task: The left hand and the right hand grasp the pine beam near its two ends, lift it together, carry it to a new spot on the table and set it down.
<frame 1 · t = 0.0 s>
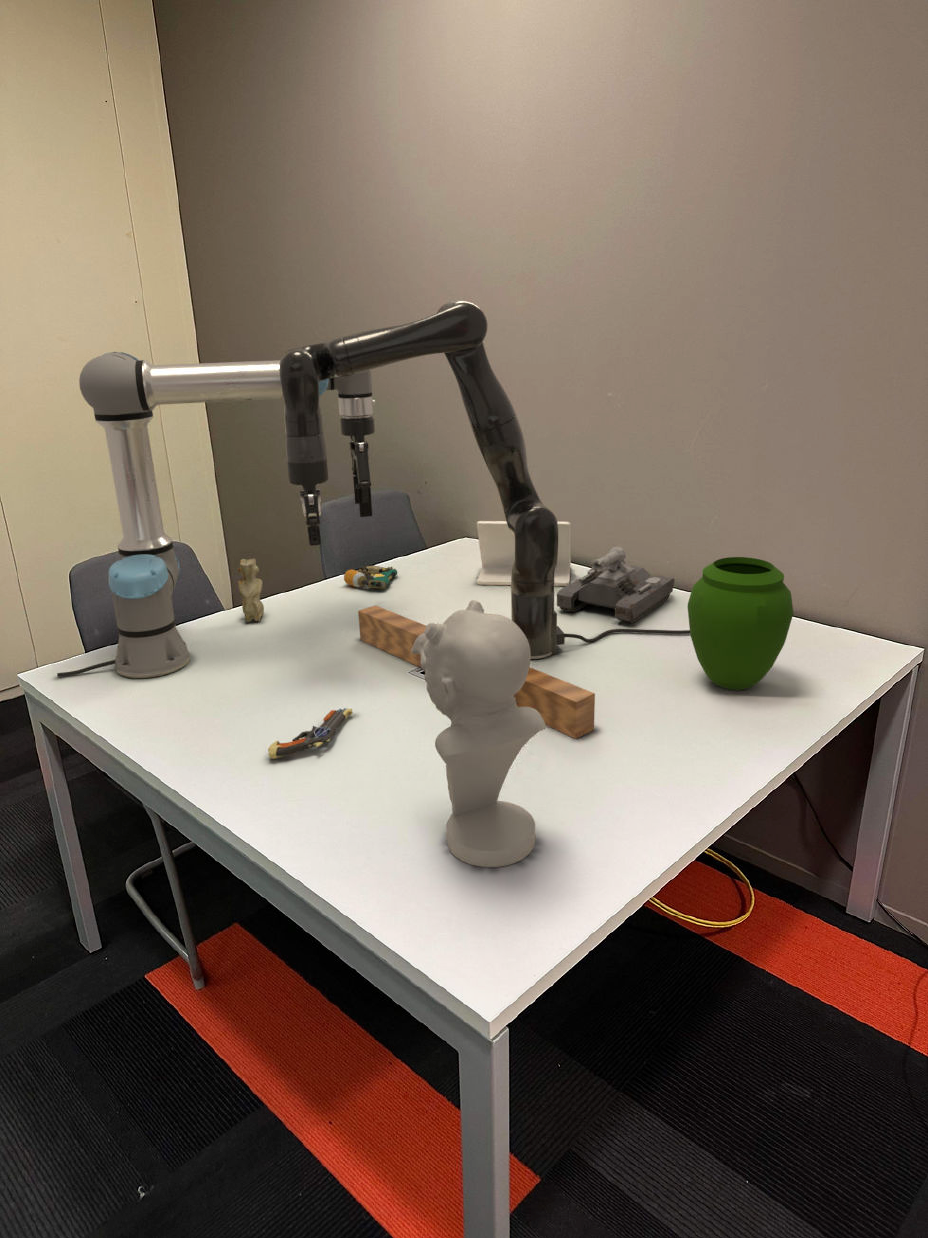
left hand: (363, 509, 198), 28 cm above the table, tool pointing down, fingers open, 13 cm apart
right hand: (314, 539, 170), 29 cm above the table, tool pointing down, fingers open, 8 cm apart
bust sculpture: (470, 832, 125), on the table
sculpture: (254, 619, 212), on the table
tablet stand: (525, 575, 239), on the table
beam: (462, 679, 176), on the table
toy: (615, 605, 214), on the table
spray gun: (374, 582, 237), on the table
vase: (732, 683, 170), on the table
toy gun: (312, 737, 154), on the table
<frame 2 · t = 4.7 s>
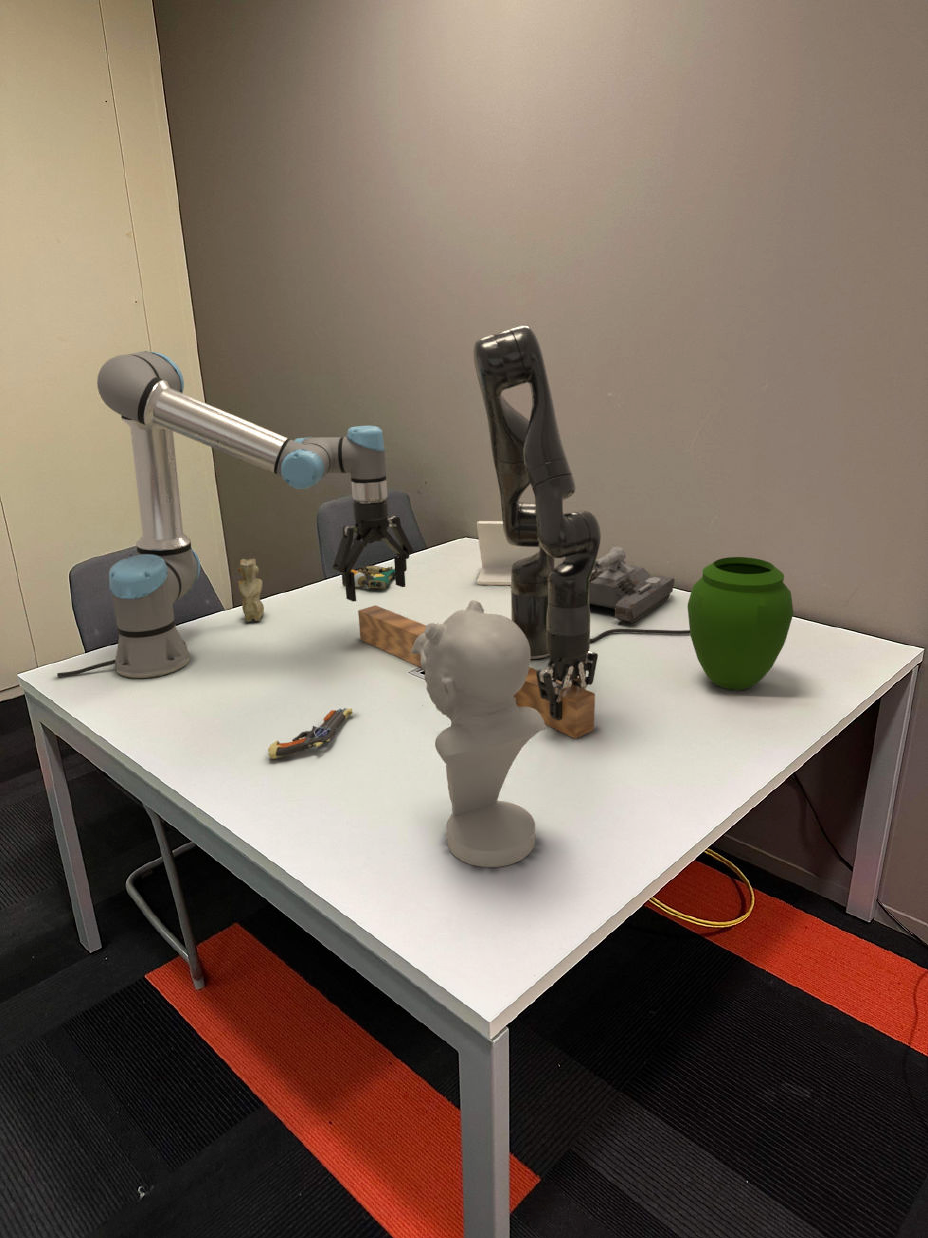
left hand: (376, 592, 192), 12 cm above the table, tool pointing down, fingers open, 13 cm apart
right hand: (566, 713, 154), 3 cm above the table, tool pointing down, fingers closed on beam, 5 cm apart
beam: (462, 679, 175), on the table, touching right hand
everything else where it was.
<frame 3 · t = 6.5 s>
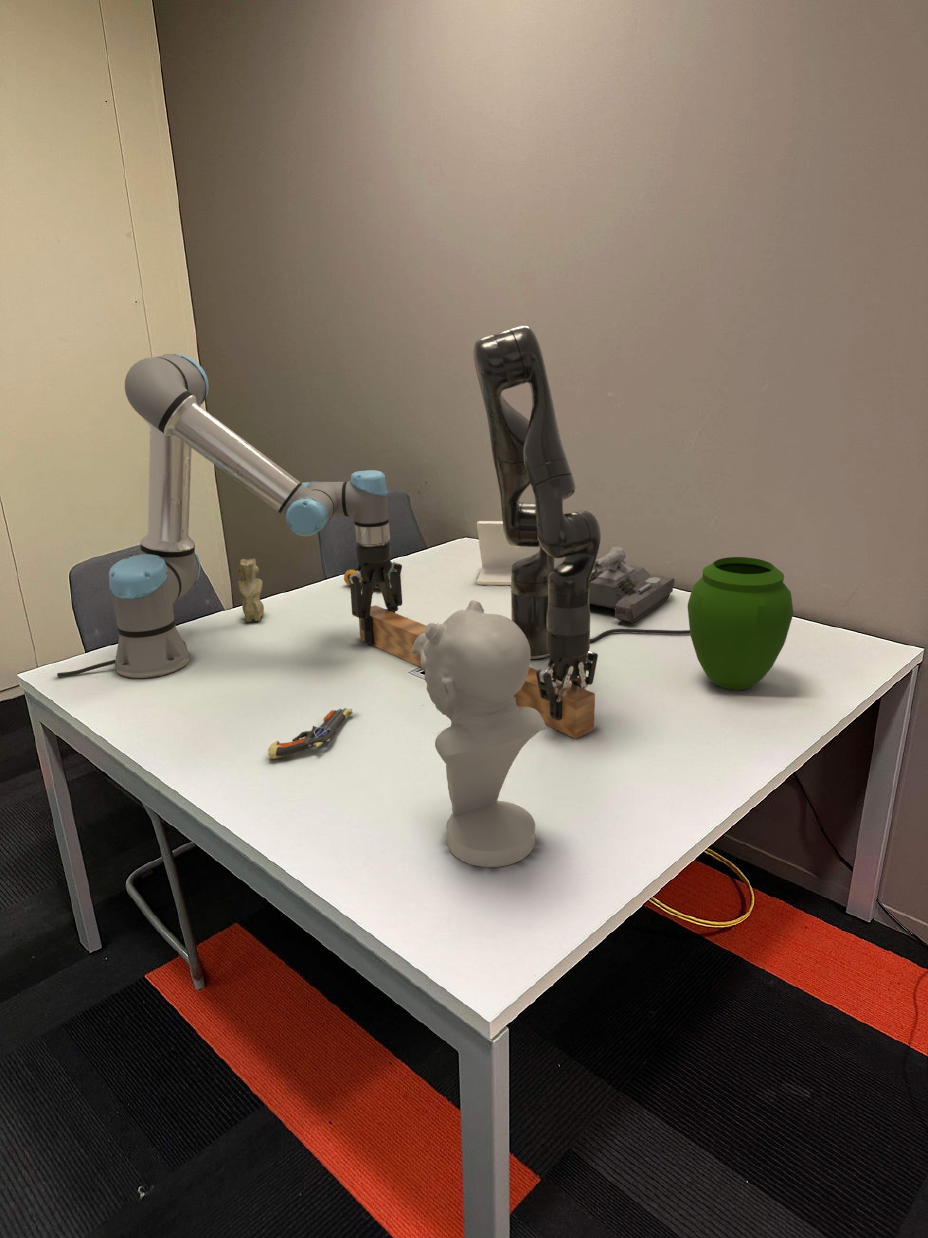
left hand: (379, 640, 196), 0 cm above the table, tool pointing down, fingers closed on beam, 5 cm apart
right hand: (566, 713, 154), 3 cm above the table, tool pointing down, fingers closed on beam, 5 cm apart
beam: (462, 679, 176), on the table, touching right hand, left hand
everything else where it was.
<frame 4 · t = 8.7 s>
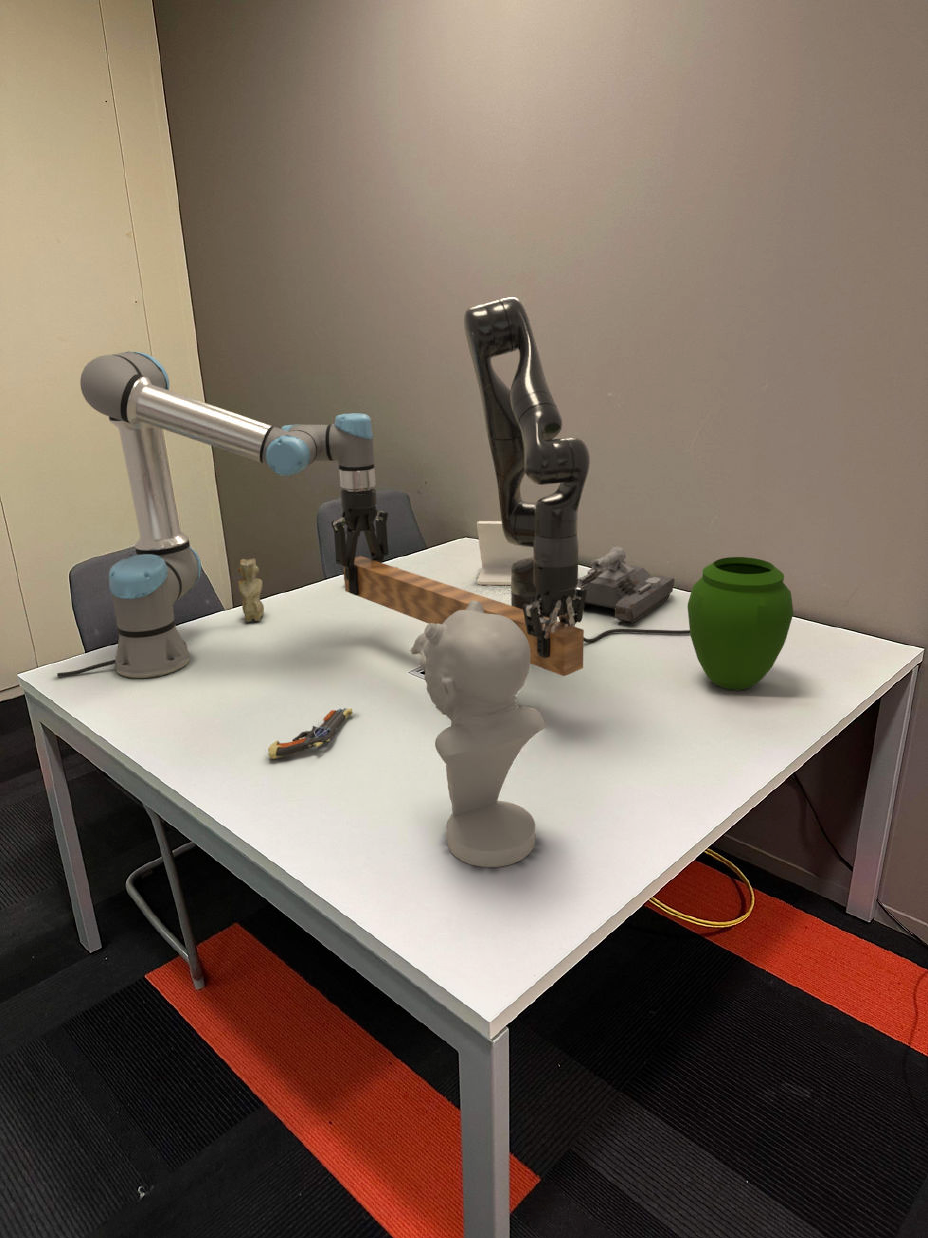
left hand: (364, 590, 191), 13 cm above the table, tool pointing down, fingers closed on beam, 5 cm apart
right hand: (554, 651, 149), 15 cm above the table, tool pointing down, fingers closed on beam, 5 cm apart
beam: (448, 624, 171), point 12 cm above the table, touching right hand, left hand
everything else where it was.
when the left hand's fingers open (2 cm above the table, at t = 12.8 s): beam drops 1 cm, on the table.
when the right hand's fingers open (4 cm above the table, at t = 12.9 s): beam stays where it is, on the table.
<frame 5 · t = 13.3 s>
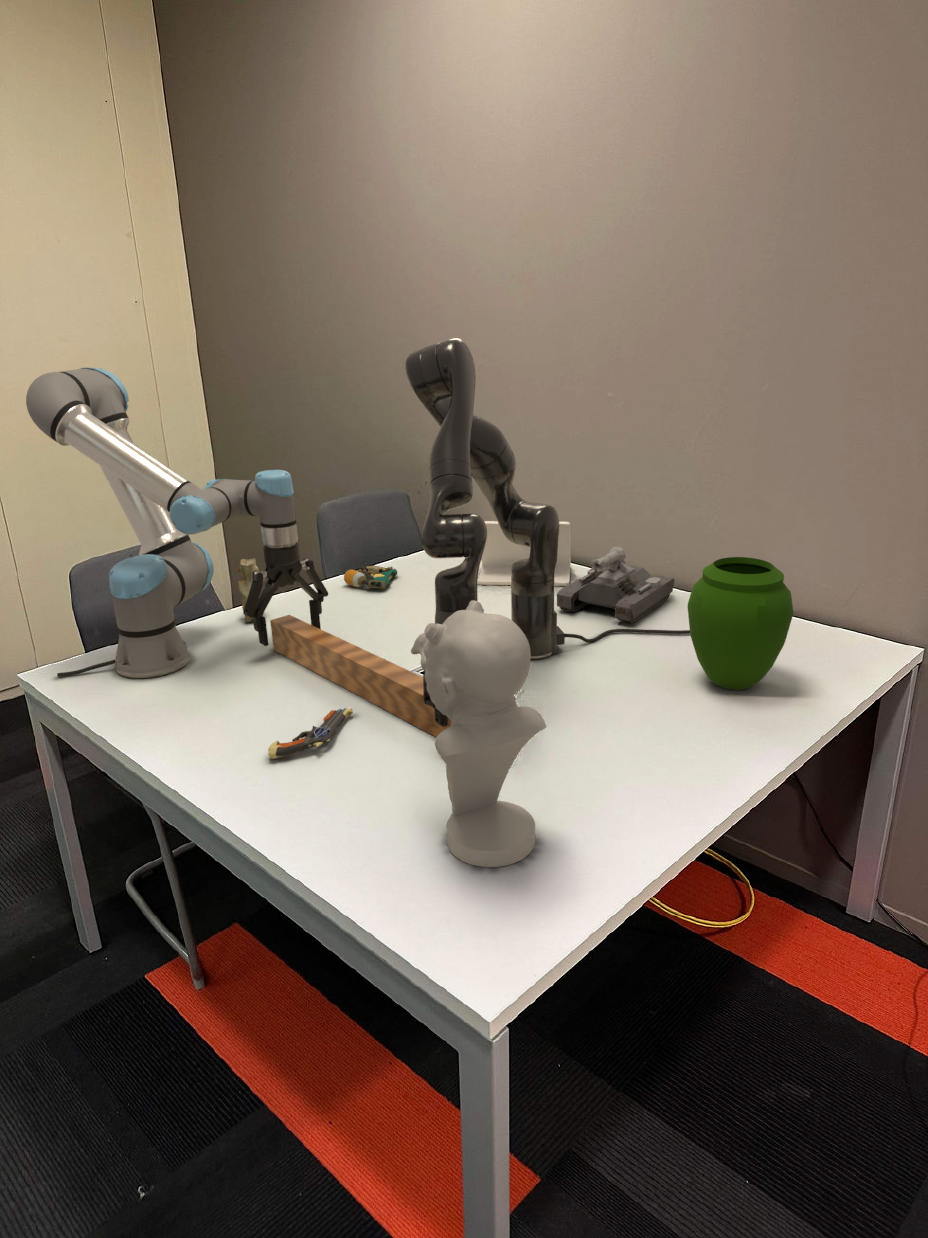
left hand: (290, 636, 190), 4 cm above the table, tool pointing down, fingers open, 13 cm apart
right hand: (460, 717, 149), 5 cm above the table, tool pointing down, fingers open, 8 cm apart
beam: (367, 691, 171), on the table
everything else where it was.
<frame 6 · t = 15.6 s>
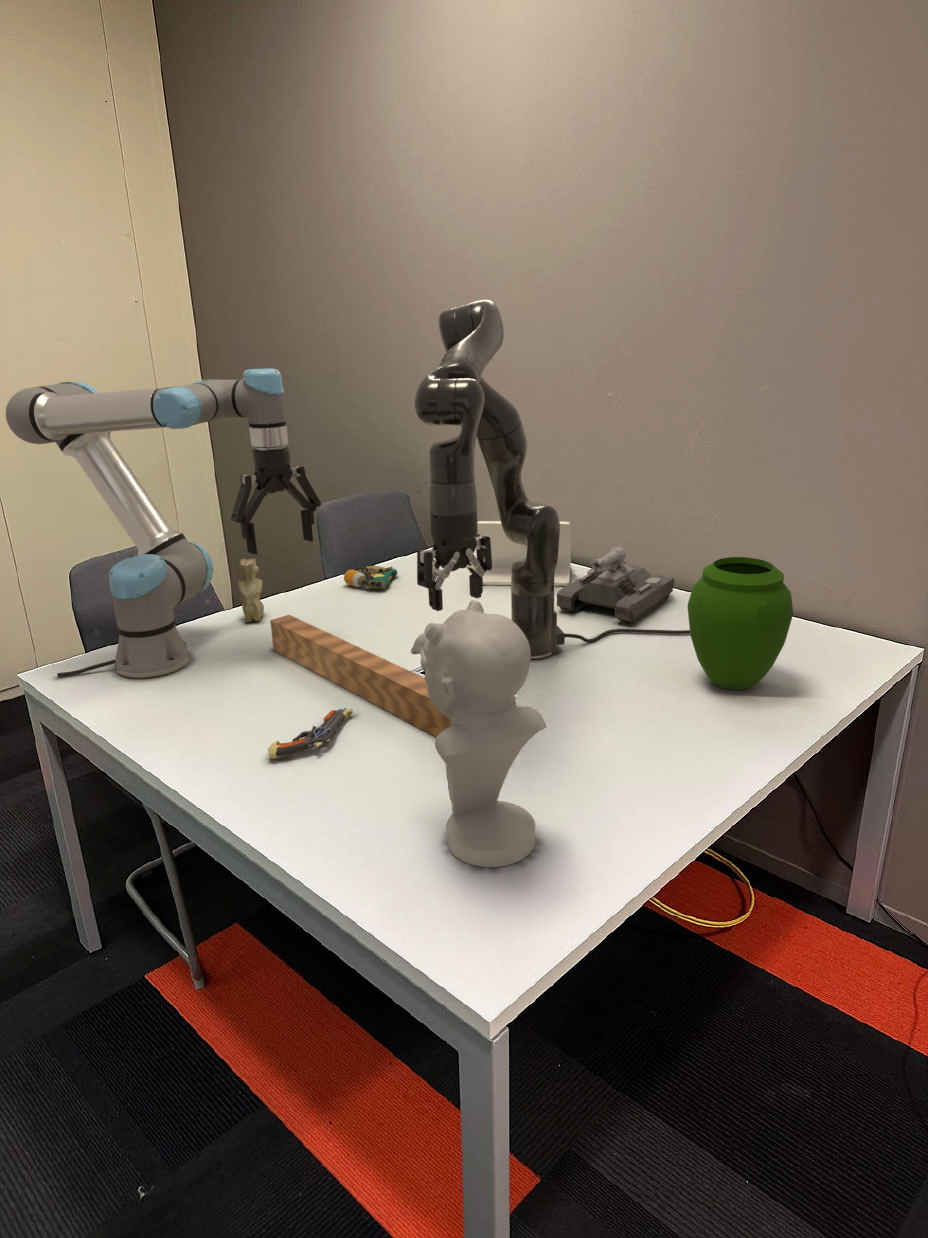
left hand: (281, 546, 183), 24 cm above the table, tool pointing down, fingers open, 13 cm apart
right hand: (456, 603, 142), 26 cm above the table, tool pointing down, fingers open, 8 cm apart
nothing on the table moved.
at the end: beam inside the target area (0.3 cm from its centre), on the table; beam tilted 0°; beam never tilted more than 2° during the clip; both hands held the beam at the same time; the left hand is holding nothing; the right hand is holding nothing; beam at rest at the end (0.0 cm/s) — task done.
